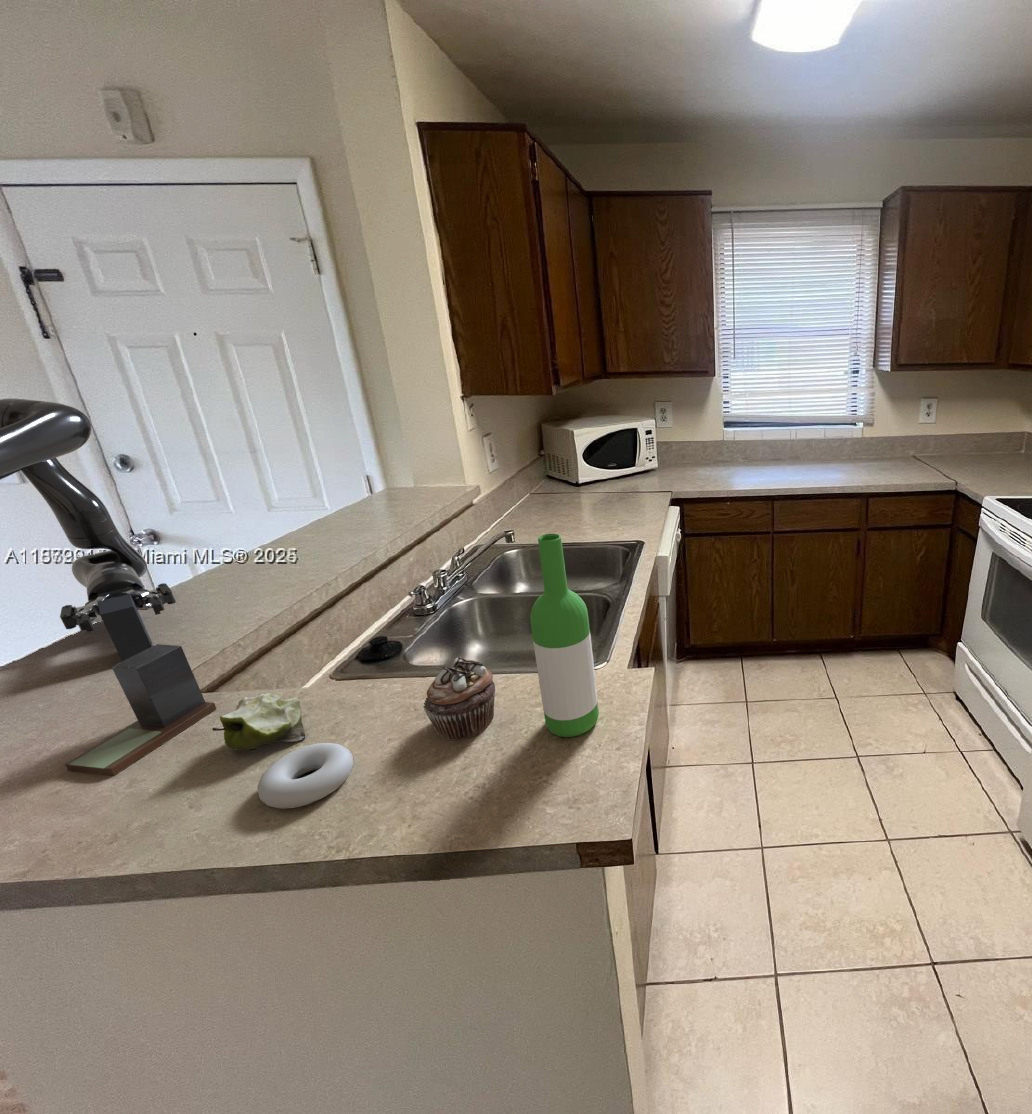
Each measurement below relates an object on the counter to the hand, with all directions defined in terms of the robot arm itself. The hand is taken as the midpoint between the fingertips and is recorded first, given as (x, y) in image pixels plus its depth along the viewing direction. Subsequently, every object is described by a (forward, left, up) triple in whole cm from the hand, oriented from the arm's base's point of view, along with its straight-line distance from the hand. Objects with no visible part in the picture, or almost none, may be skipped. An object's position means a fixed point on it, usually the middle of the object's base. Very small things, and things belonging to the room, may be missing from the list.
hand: (123, 617), depth 101 cm
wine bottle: (+87, -10, -6) cm, 87 cm away
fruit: (+45, -19, -6) cm, 49 cm away
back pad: (+3, -2, -6) cm, 7 cm away
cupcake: (+71, -12, -6) cm, 72 cm away
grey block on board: (+28, -21, -6) cm, 35 cm away
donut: (+58, -26, -6) cm, 64 cm away
